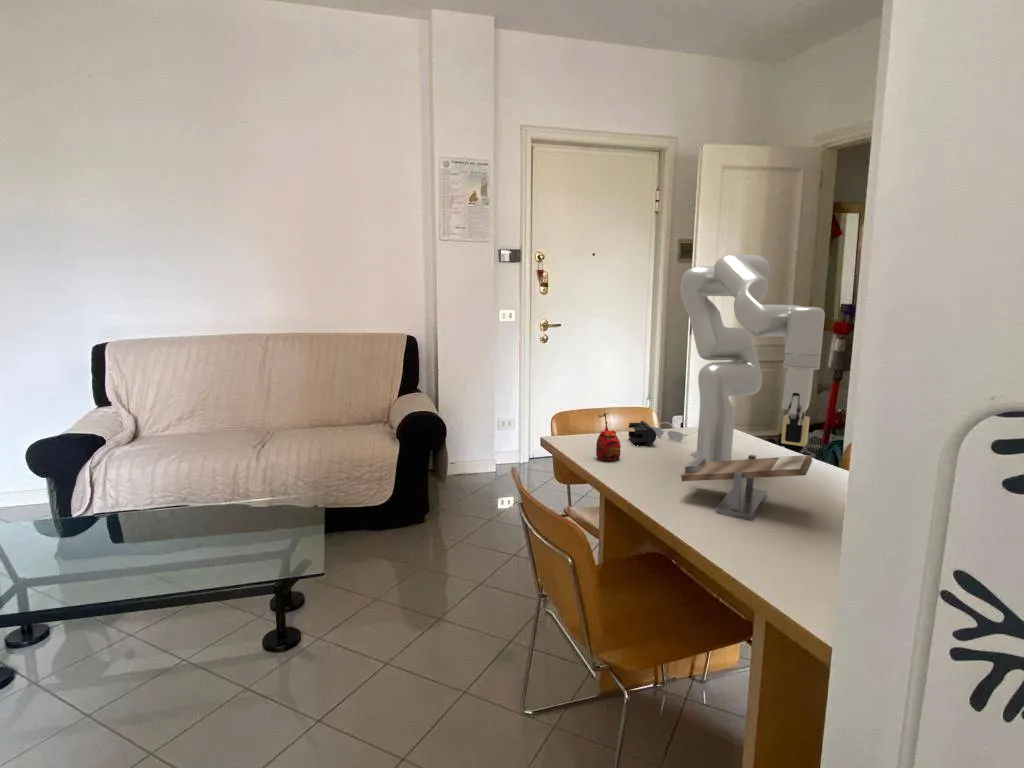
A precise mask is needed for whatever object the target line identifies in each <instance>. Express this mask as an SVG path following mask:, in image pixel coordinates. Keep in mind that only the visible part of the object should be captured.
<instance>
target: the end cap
mask: <svg viewBox="0 0 1024 768" xmlns="http://www.w3.org/2000/svg"><path fill="white" fill-rule="evenodd" d="M650 426H651V425H649V424H648V423H647V422H646V421H644V420H640V422H628V428H629V429H633V430H632V431H631V430H628V441H629V440H630V441H631V442H632V443H633V444H632V443H631V442H630V441H629V442H630V443H631V444H632V445H635V446H637V445H638V446H647V447H649V446H651V445H653V444H654V443H655V441H656V440H657V437H656V432H655V431H654V429H652V428H651V427H650ZM635 446H634V447H635Z"/></svg>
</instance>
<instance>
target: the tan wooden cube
mask: <svg viewBox="0 0 1024 768" xmlns="http://www.w3.org/2000/svg"><path fill="white" fill-rule="evenodd" d="M798 417H799V416H798ZM787 420H788V413H787V414H785V415H784V416H783V417H782V426H781V427H782V428H781V429H782V430H781V441H780V443H781V444H782V445H783V444H785V445H793V446H797V447H798V446H799V447H806V446H807V444H808V439H809V429H810V420H811V419H810V416H806V415H805V416H802V419H801V425H802V432H801V442H800V443H795V442H788V441H785V434H786V424H787Z"/></svg>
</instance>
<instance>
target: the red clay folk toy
mask: <svg viewBox="0 0 1024 768" xmlns="http://www.w3.org/2000/svg"><path fill="white" fill-rule="evenodd" d="M603 412H604V413H602V414H599V415H598V417H599V418H603V417H604V422H605V423H604V424H605V428H604V430H602V431H600V433H599V435H598V437H597V440H596V449H595V450H596V451H595V453H596V454H595V455H596V458H597V459H598V460H600V461H602V462H605V461H606V462H607V461H608V462H610V461H612V462H616V461H619V460H620V457H621V456H620V455H621V451H622V450H621V447H622V446H621V441H620V440H619V438H618V435H617V432H616V431H615V430H609V427H608V420H607V414H609V413H608V412H607V413H606V410H605V409H603Z"/></svg>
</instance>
